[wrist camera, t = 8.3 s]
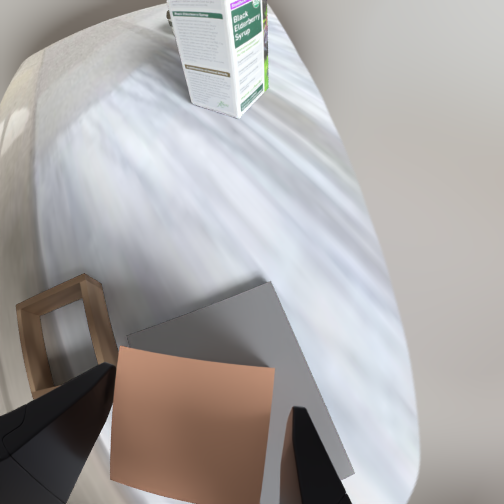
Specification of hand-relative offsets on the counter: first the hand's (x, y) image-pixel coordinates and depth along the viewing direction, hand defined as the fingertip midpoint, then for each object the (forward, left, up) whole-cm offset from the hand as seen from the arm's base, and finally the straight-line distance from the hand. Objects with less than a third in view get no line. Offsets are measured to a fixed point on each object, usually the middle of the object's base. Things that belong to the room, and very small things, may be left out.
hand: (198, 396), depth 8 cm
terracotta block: (-1, +1, -8) cm, 9 cm away
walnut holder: (+6, +10, -9) cm, 15 cm away
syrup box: (+24, -9, -10) cm, 27 cm away
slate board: (-2, 0, -9) cm, 10 cm away
